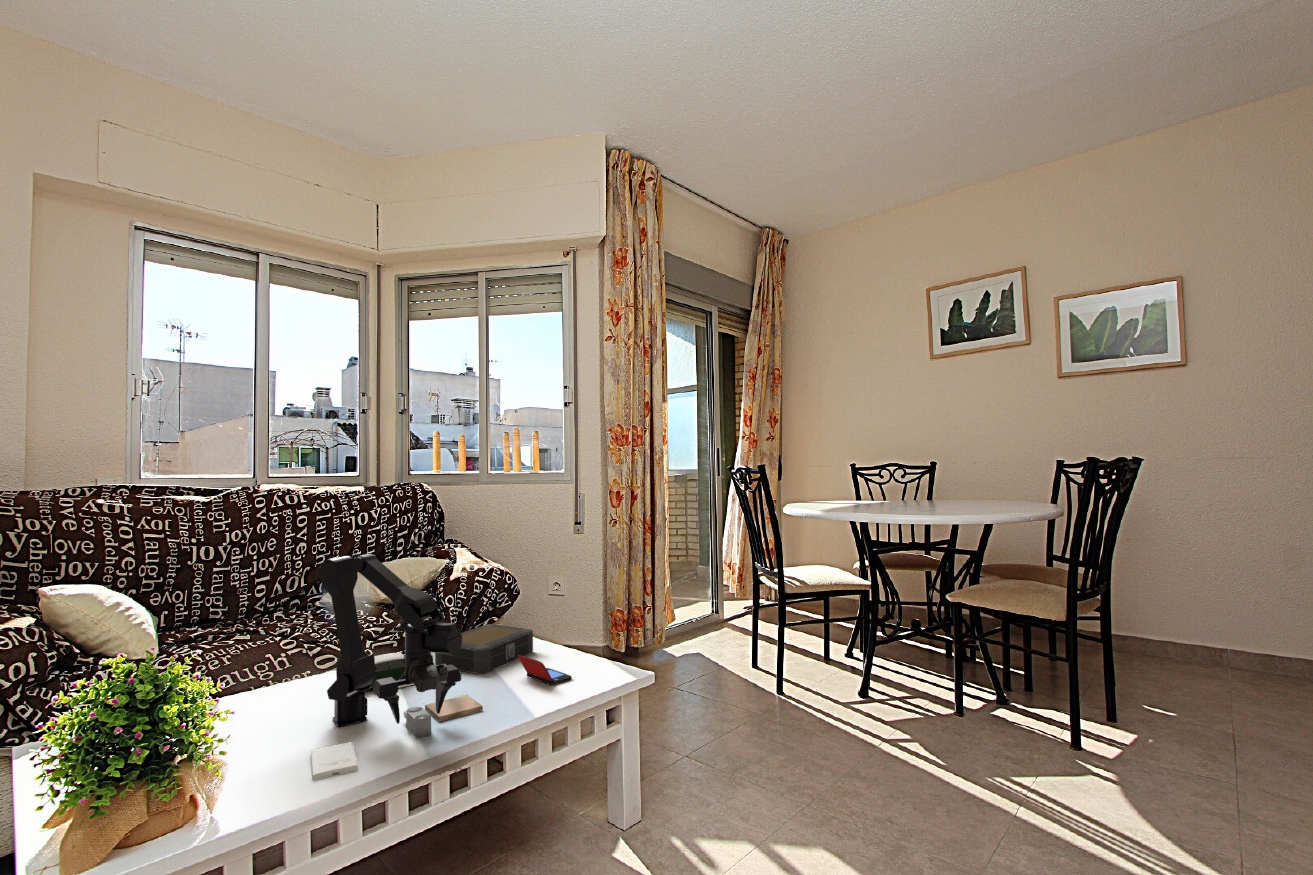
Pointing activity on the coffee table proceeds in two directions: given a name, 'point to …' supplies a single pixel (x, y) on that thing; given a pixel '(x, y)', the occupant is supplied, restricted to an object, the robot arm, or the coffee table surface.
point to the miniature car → (389, 666)
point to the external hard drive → (333, 760)
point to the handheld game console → (542, 671)
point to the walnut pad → (454, 708)
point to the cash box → (489, 648)
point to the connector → (418, 722)
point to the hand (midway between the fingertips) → (418, 717)
